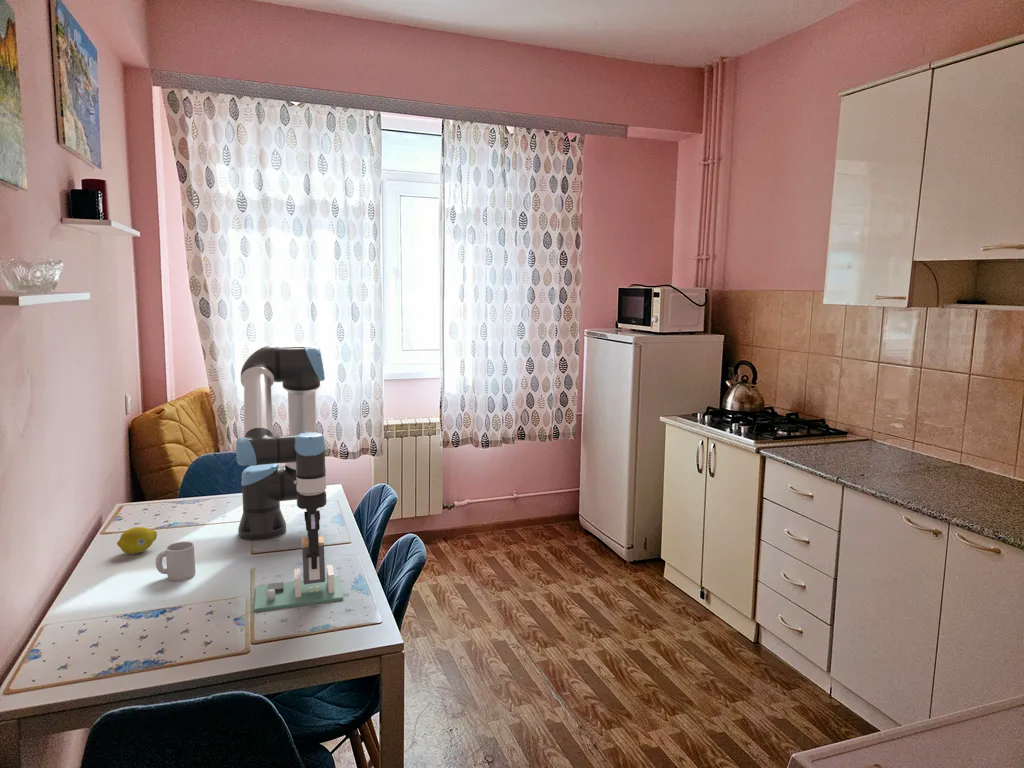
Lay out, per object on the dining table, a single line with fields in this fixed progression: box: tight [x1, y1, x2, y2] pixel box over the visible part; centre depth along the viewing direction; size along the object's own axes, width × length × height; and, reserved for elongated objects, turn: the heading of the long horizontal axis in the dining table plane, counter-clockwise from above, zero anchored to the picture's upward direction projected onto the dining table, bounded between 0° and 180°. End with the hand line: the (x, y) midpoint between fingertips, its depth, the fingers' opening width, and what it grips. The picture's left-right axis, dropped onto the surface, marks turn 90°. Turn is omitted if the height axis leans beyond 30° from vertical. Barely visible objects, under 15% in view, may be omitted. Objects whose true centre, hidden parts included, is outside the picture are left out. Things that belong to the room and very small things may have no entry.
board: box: [253, 564, 344, 613], centre depth 177 cm, size 14×22×6 cm, turn 109°
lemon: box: [116, 526, 158, 555], centre depth 205 cm, size 11×8×8 cm
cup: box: [155, 541, 196, 582], centre depth 187 cm, size 7×10×9 cm
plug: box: [301, 535, 326, 584], centre depth 178 cm, size 5×6×11 cm
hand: (314, 574), depth 178 cm, fingers closed on plug, 5 cm apart
